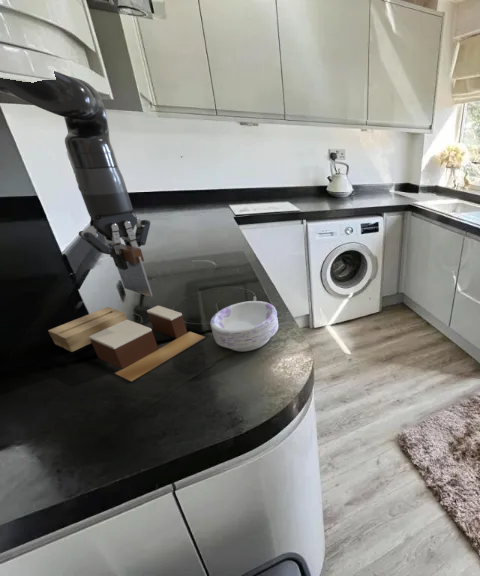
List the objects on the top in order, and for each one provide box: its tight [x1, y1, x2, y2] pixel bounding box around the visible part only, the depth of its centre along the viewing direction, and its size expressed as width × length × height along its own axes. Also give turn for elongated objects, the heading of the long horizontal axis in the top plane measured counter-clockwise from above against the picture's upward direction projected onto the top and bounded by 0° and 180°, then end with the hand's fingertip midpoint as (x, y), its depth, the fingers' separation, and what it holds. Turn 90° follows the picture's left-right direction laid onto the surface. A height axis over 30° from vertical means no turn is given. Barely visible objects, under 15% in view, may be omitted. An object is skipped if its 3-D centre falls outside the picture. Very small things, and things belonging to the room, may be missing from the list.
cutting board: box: [114, 331, 206, 382], centre depth 79 cm, size 20×18×1 cm
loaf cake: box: [89, 319, 159, 370], centre depth 74 cm, size 9×8×6 cm
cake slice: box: [146, 305, 188, 339], centre depth 83 cm, size 9×3×6 cm, turn 66°
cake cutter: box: [106, 243, 154, 298], centre depth 75 cm, size 10×2×12 cm, turn 66°
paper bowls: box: [209, 300, 279, 352], centre depth 81 cm, size 15×15×8 cm
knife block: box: [47, 306, 128, 353], centre depth 82 cm, size 13×7×5 cm, turn 156°
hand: (130, 266), depth 74 cm, fingers closed on cake cutter, 2 cm apart
